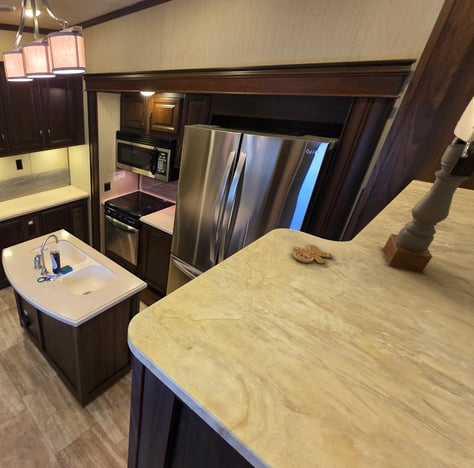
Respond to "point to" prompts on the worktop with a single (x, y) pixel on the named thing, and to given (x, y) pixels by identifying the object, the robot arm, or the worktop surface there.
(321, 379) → the worktop surface
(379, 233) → the worktop surface
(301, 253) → the cookie
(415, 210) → the candle holder
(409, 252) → the brown wooden block
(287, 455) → the worktop surface
